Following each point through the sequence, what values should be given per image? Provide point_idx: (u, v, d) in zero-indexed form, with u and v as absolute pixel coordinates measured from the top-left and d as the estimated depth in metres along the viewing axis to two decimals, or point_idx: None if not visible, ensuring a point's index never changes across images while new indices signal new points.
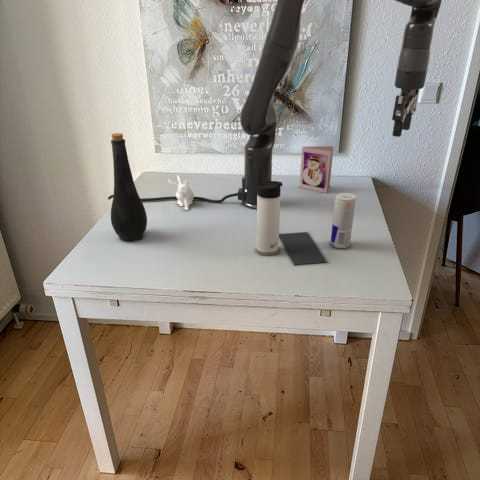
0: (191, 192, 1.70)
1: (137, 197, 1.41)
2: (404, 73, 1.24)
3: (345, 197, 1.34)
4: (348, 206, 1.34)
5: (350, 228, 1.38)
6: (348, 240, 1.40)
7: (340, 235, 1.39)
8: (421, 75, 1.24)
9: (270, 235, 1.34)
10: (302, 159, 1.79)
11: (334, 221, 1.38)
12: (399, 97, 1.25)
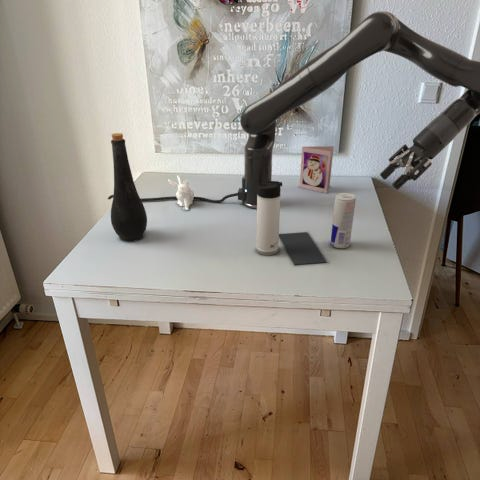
0: (191, 192, 1.70)
1: (137, 197, 1.41)
2: (437, 140, 1.26)
3: (345, 197, 1.34)
4: (348, 206, 1.34)
5: (350, 228, 1.38)
6: (348, 240, 1.40)
7: (340, 235, 1.39)
8: (441, 150, 1.30)
9: (270, 235, 1.34)
10: (302, 159, 1.79)
11: (334, 221, 1.38)
12: (428, 160, 1.26)
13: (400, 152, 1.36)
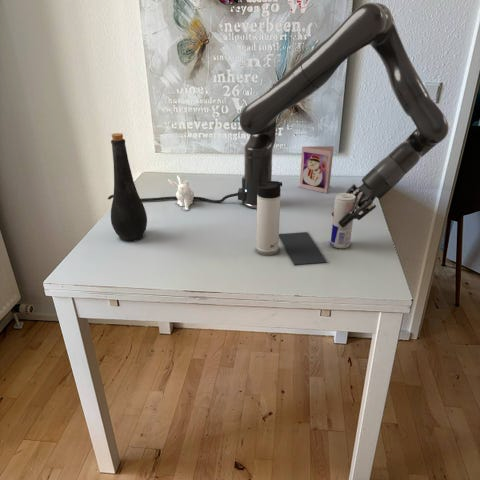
0: (191, 192, 1.70)
1: (137, 197, 1.41)
2: (384, 182, 1.30)
3: (345, 197, 1.34)
4: (348, 206, 1.34)
5: (350, 228, 1.38)
6: (348, 240, 1.40)
7: (340, 235, 1.39)
8: (388, 190, 1.34)
9: (270, 235, 1.34)
10: (302, 159, 1.79)
11: (334, 221, 1.38)
12: (372, 203, 1.30)
13: (350, 192, 1.40)
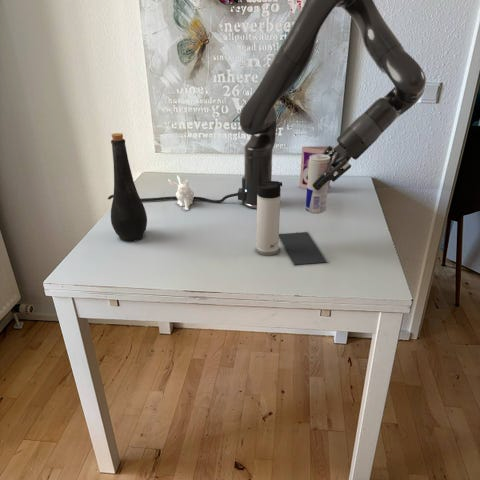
0: (191, 192, 1.70)
1: (137, 197, 1.41)
2: (359, 140, 1.23)
3: (319, 157, 1.27)
4: (322, 167, 1.26)
5: (325, 191, 1.31)
6: (323, 205, 1.33)
7: (315, 199, 1.31)
8: (365, 150, 1.27)
9: (270, 235, 1.34)
10: (302, 159, 1.79)
11: (308, 184, 1.31)
12: (346, 163, 1.23)
13: (325, 154, 1.33)
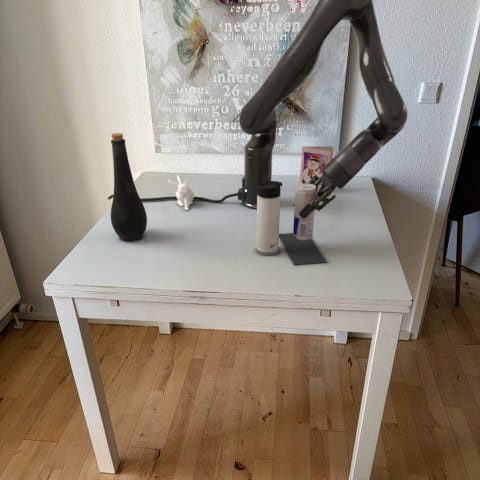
0: (191, 192, 1.70)
1: (137, 197, 1.41)
2: (343, 171, 1.27)
3: (305, 187, 1.31)
4: (308, 197, 1.30)
5: (311, 219, 1.35)
6: (310, 232, 1.37)
7: (301, 227, 1.35)
8: (349, 180, 1.30)
9: (270, 235, 1.34)
10: (302, 159, 1.79)
11: (295, 212, 1.35)
12: (331, 194, 1.27)
13: (312, 182, 1.37)
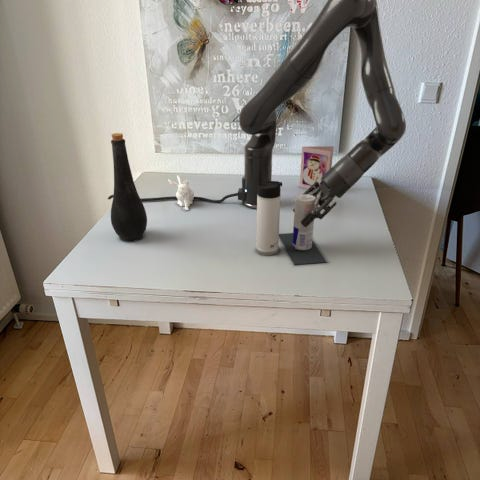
0: (191, 192, 1.70)
1: (137, 197, 1.41)
2: (342, 181, 1.28)
3: (305, 198, 1.32)
4: (307, 208, 1.32)
5: (311, 230, 1.37)
6: (309, 242, 1.38)
7: (301, 237, 1.37)
8: (348, 189, 1.32)
9: (270, 235, 1.34)
10: (302, 159, 1.79)
11: (295, 223, 1.36)
12: (332, 200, 1.28)
13: (312, 189, 1.38)
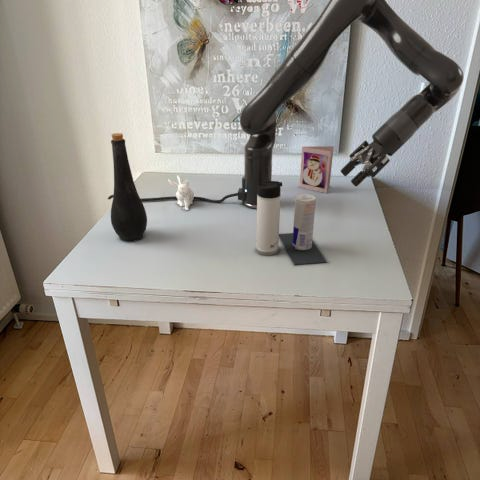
0: (191, 192, 1.70)
1: (137, 197, 1.41)
2: (395, 137, 1.24)
3: (305, 198, 1.32)
4: (307, 208, 1.32)
5: (311, 230, 1.37)
6: (309, 242, 1.38)
7: (301, 237, 1.37)
8: None
9: (270, 235, 1.34)
10: (302, 159, 1.79)
11: (295, 223, 1.36)
12: (386, 157, 1.24)
13: (361, 148, 1.34)
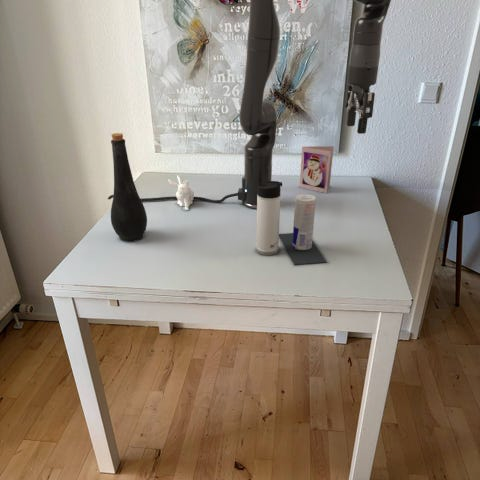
0: (191, 192, 1.70)
1: (137, 197, 1.41)
2: (365, 70, 1.23)
3: (305, 198, 1.32)
4: (307, 208, 1.32)
5: (311, 230, 1.37)
6: (309, 242, 1.38)
7: (301, 237, 1.37)
8: (377, 70, 1.25)
9: (270, 235, 1.34)
10: (302, 159, 1.79)
11: (295, 223, 1.36)
12: (369, 94, 1.24)
13: (349, 94, 1.35)
